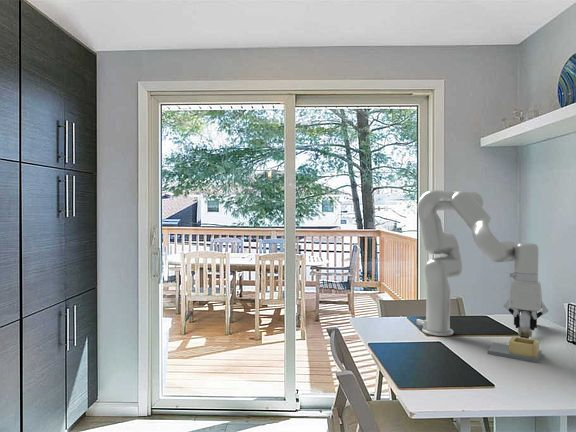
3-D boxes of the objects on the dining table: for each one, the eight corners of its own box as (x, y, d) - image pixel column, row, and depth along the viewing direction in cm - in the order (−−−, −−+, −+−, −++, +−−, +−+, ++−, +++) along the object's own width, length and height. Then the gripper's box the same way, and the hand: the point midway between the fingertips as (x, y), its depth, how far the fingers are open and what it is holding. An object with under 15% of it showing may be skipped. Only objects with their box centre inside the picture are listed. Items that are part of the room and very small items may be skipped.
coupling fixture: (487, 353, 162) (487, 339, 162) (494, 345, 171) (494, 332, 171) (537, 362, 152) (538, 347, 152) (541, 353, 162) (542, 339, 162)
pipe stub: (517, 335, 159) (517, 310, 159) (519, 332, 163) (519, 308, 163) (531, 337, 157) (531, 312, 157) (532, 334, 160) (533, 309, 160)
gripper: (498, 276, 162) (497, 327, 162) (552, 281, 152) (551, 334, 152) (502, 274, 168) (501, 323, 168) (554, 278, 158) (553, 330, 158)
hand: (525, 328), depth 160 cm, fingers closed on pipe stub, 4 cm apart
